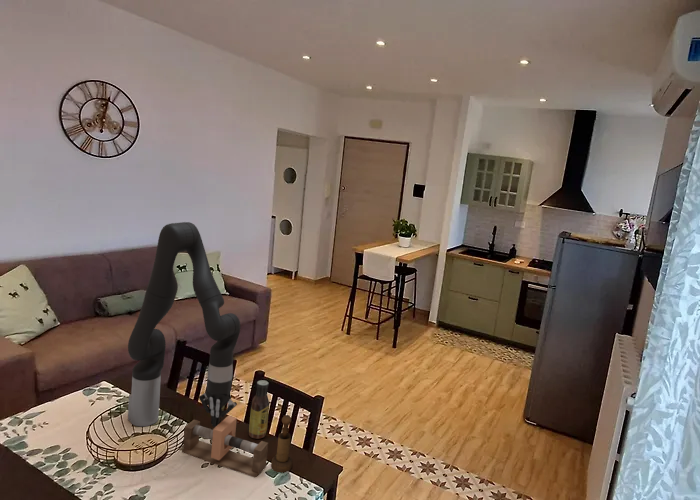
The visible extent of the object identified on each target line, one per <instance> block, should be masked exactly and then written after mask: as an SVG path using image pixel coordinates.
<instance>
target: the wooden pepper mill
mask: <svg viewBox="0 0 700 500" xmlns="http://www.w3.org/2000/svg"><path fill="white" fill-rule="evenodd" d="M281 422H282V425H283V427H281V432H280V433H279V434H278V439H277V447H276V454H275V455H274V456H273V457H272V459H271V462H270V468H271V470H272V469H273V470H272V471H274V472H275V471H276V472H275V473H278V472H281V474H285V473H288V472H290V471H291V469H292V466H293V459H292V457H291V456H290V446H291V439H292V437H291V436H292V435H291V433H290V428H289V426H290V424H291V423H292V417H291V415H288V414H285V415H283V417H281ZM282 472H283V473H282ZM284 472H285V473H284Z"/></svg>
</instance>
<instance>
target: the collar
mask: <svg viewBox="0 0 700 500" xmlns="http://www.w3.org/2000/svg"><path fill="white" fill-rule="evenodd" d="M237 419H238V417H237V416H232V415H227V416H226V417H225V418H224V419H223V420H221V423H220V424H218V425H217V426H216V427H214V428H212V430H213V439H212V440H211V442H212V443H211V445H212V451H211V458H214V459H217V460H220V459H221V458H222V457H223V456H224V455H225V454H226V453H227V452H228V451H229V450H230V451H231V450H232V448H233V447H231V446H228V445H225V444H224V441H225V437H226V436H227V435H231V436H234V437H236V430H237V429H236V428H237V422H238V421H237Z"/></svg>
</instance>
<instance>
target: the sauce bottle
mask: <svg viewBox="0 0 700 500" xmlns="http://www.w3.org/2000/svg"><path fill="white" fill-rule="evenodd" d="M269 385H270V384H269V382H268V381H267V380H265V379H263V380H262V379H261V380H258V381H256V392H255V393H256V394H254V396H253V397H252V401H251V406H250V414H249V415H250V417H249V423H248V424H249V426H248V435H249V437H250V438H252V439H257V440H258V439H259V440H260V439H262V438H265V437H266V434H267V431H268V422H269V421H268V420H269V411H270V401H269V400H270V399H269V396H268V388H269Z"/></svg>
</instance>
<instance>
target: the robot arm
mask: <svg viewBox="0 0 700 500" xmlns="http://www.w3.org/2000/svg"><path fill="white" fill-rule="evenodd" d="M182 252H186V253H187V255H188V256H189V257H190V260H191V263H192V264H191V265H192V287H193V293H194V295H195V296H196V299H197V301H198V302H199V305H200V307H201V309H202V316H203V321H204V327H205V331H206V334H207V335H208V337H210V339H212V340H214V341H216V342H214V343H213V344H212V345H211V348H210V351H209V361H208V362H209V364H208V368H207V378H206V379H207V380H206V391H205V392H203V393H202V394H200V395H199V396H198V399H199V401H200V403H201V405H202V406H203V408H204V410H205V412H206V413H208V414H210V416H211V418H210V424H211V426H212V427H214V428H215V427H216V426H217V425H218V424H220V423H221V422H222V418H224V417H225V416H226V415H228V414H229V413H230V412H231V411H232V410H233V409H234V408H236V406H237V405H238V404H237V402H236V401H233V400H232V395H231V391H232V384H233V383H232V381H233V373H234V372H233V370H234V369H233V368H234V367H233V361H234V350H235V348H236V345H237V343H238V340H239V336H240V333H241V322H240V318H239V317H238V316H237V315H236V314H234V313H231V312H229V313H225V314H222V315H220V314H221V313H220V309H221V308H222V307H223V306H224V305H225V299H224V296H223V295H222V293H221V291H220V289H219V286H218V284H217V283H216V280H215V277H214V275H213V273H212V270H211V267H210V263H209V259H208V257H207V253H206V250H205V246H204V242H203V240H202V236H201V233H200V231H199V229H198V228H197V226H196V225H195V224H194V223H192V222H190V221H188V222H186V221H184V222H183V221H182V222H172V223H167V224H165V225H164V226H163V227H162V228H161V230H160V233H159V236H158V240H157V246H156V253H155V256H154V257H155V258H154V263H153V266H152V270H151V274H150V277H149V281H148V284H147V287H146V291H145V294H144V298H143V301H142V305H141V307H140V311H139V314H138V317H137V320H136V322H135V324H134V327H133V329H132V331H131V334H130V337H129V339H128V344H127V349H128V350H127V352H128V355H129V357H130V358H131V360H134V361H138V363H136V364H135V365H134V366H133V368H132V375H131V393H130V394H129V395H128V407H127V420H128V421H130V423H131V424H132V425H133V426H136V427H148V426H152V425H154V424H155V423H157V422H158V420H159V415H160V414H159V413H160V397H161V395H160V394H161V379H162V378H161V375H162V370H163V368H164V365H165V356H166V347H167V346H166V344H167V343H166V337H165V335H164V333H163V332H162V330H160V329H159V328H156V327H157V326H158V325H159V323H160V322H161V321H162V320H163V319H164V317H165V316H166V315H167V314H168V313H169V311H170V310H171V309H172V308H173V305H174V303H175V299H176V296H177V294H178V287H179V285H178V280H177V277H176V275H175V273H174V266H175V260H176V258H177V256H178V254H179V253H182ZM225 406H226V408H225ZM224 409H225V410H224Z"/></svg>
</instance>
